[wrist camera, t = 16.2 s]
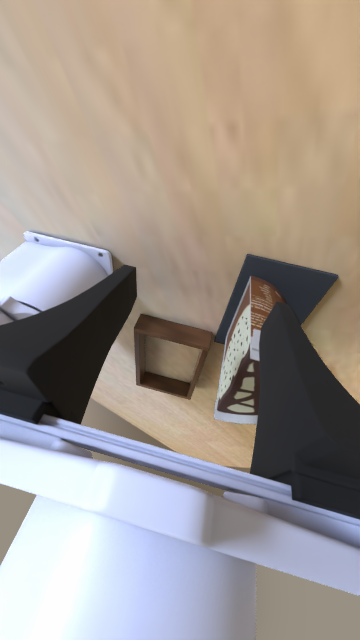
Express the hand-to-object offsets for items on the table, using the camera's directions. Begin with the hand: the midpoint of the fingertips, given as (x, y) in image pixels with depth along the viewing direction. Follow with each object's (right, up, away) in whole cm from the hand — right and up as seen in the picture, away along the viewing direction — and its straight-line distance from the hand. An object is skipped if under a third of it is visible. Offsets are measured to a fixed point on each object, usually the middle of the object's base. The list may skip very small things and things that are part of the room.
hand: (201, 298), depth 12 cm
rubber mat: (+8, 0, +14) cm, 16 cm away
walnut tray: (-2, -6, +24) cm, 25 cm away
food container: (+8, -1, +13) cm, 16 cm away
